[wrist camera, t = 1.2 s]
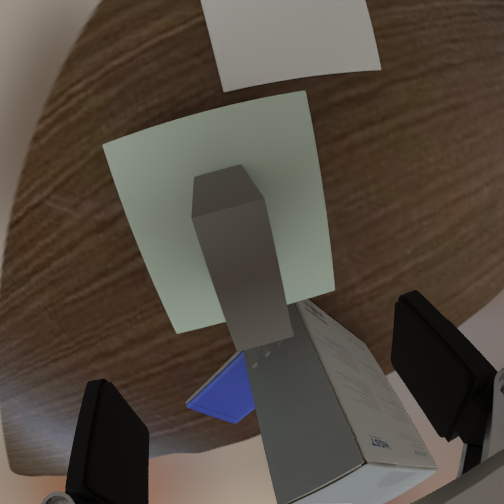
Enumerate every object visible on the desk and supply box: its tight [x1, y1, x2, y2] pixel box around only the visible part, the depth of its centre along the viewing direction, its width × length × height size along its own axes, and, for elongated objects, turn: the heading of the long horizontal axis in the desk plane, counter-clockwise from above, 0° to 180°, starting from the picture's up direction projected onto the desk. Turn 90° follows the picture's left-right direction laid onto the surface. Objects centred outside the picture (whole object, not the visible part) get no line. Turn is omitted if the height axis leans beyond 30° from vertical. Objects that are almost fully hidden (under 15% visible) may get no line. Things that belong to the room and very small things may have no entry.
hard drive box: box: [243, 299, 438, 504], centre depth 27 cm, size 16×8×20 cm, turn 47°
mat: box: [200, 0, 381, 93], centre depth 20 cm, size 14×12×1 cm
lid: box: [103, 91, 335, 352], centre depth 17 cm, size 12×14×9 cm
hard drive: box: [186, 351, 255, 423], centre depth 37 cm, size 2×8×12 cm
